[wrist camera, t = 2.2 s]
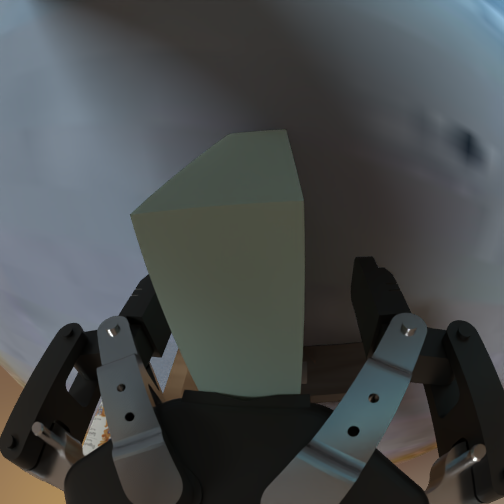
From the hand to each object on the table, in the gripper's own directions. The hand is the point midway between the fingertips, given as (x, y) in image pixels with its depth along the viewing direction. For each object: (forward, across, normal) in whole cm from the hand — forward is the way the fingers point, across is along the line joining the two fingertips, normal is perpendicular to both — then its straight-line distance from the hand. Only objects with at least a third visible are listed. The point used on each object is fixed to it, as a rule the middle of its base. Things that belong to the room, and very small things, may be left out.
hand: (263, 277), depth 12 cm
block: (+3, 0, 0) cm, 3 cm away
